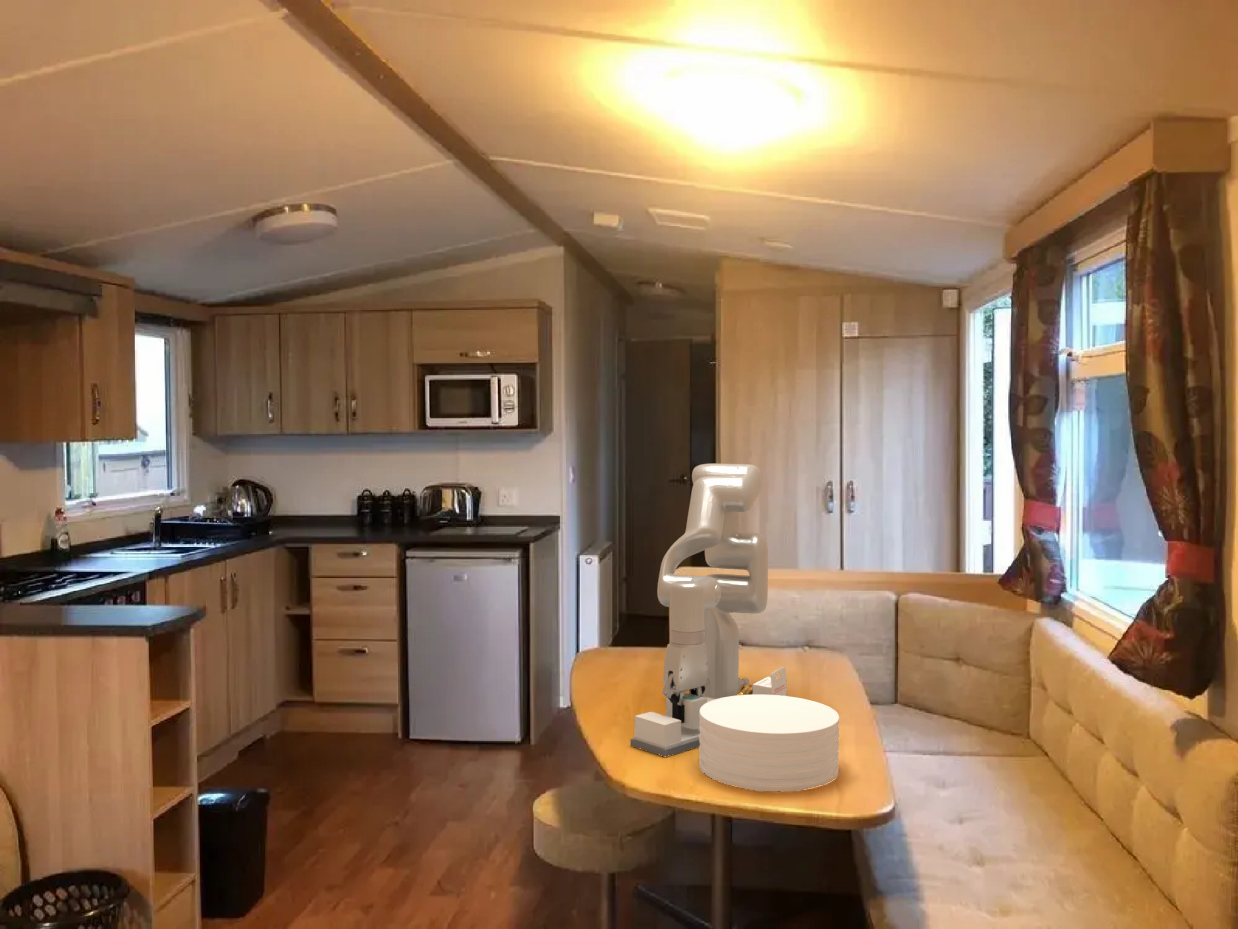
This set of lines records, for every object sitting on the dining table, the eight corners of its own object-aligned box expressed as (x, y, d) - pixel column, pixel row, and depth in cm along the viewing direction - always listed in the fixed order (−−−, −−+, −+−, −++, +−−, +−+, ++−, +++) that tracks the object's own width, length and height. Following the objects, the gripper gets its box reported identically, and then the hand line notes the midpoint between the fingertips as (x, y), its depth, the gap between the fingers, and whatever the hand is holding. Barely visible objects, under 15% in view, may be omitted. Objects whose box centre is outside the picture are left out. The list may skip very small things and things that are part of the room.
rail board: (704, 724, 237) (704, 696, 237) (739, 734, 230) (739, 705, 230) (630, 746, 221) (630, 715, 221) (665, 757, 213) (665, 726, 213)
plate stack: (722, 740, 226) (722, 689, 226) (849, 756, 215) (850, 703, 215) (680, 780, 200) (680, 723, 200) (823, 801, 189) (823, 740, 189)
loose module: (679, 717, 230) (680, 690, 230) (706, 725, 224) (706, 697, 224) (666, 721, 227) (666, 694, 226) (692, 729, 221) (692, 701, 221)
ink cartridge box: (766, 726, 236) (767, 663, 236) (786, 729, 234) (787, 665, 233) (751, 735, 229) (751, 670, 228) (771, 739, 226) (772, 673, 226)
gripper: (699, 629, 233) (699, 709, 234) (647, 640, 221) (647, 723, 222) (724, 634, 228) (724, 715, 228) (672, 645, 216) (672, 731, 217)
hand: (686, 718), depth 225 cm, fingers closed on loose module, 4 cm apart
